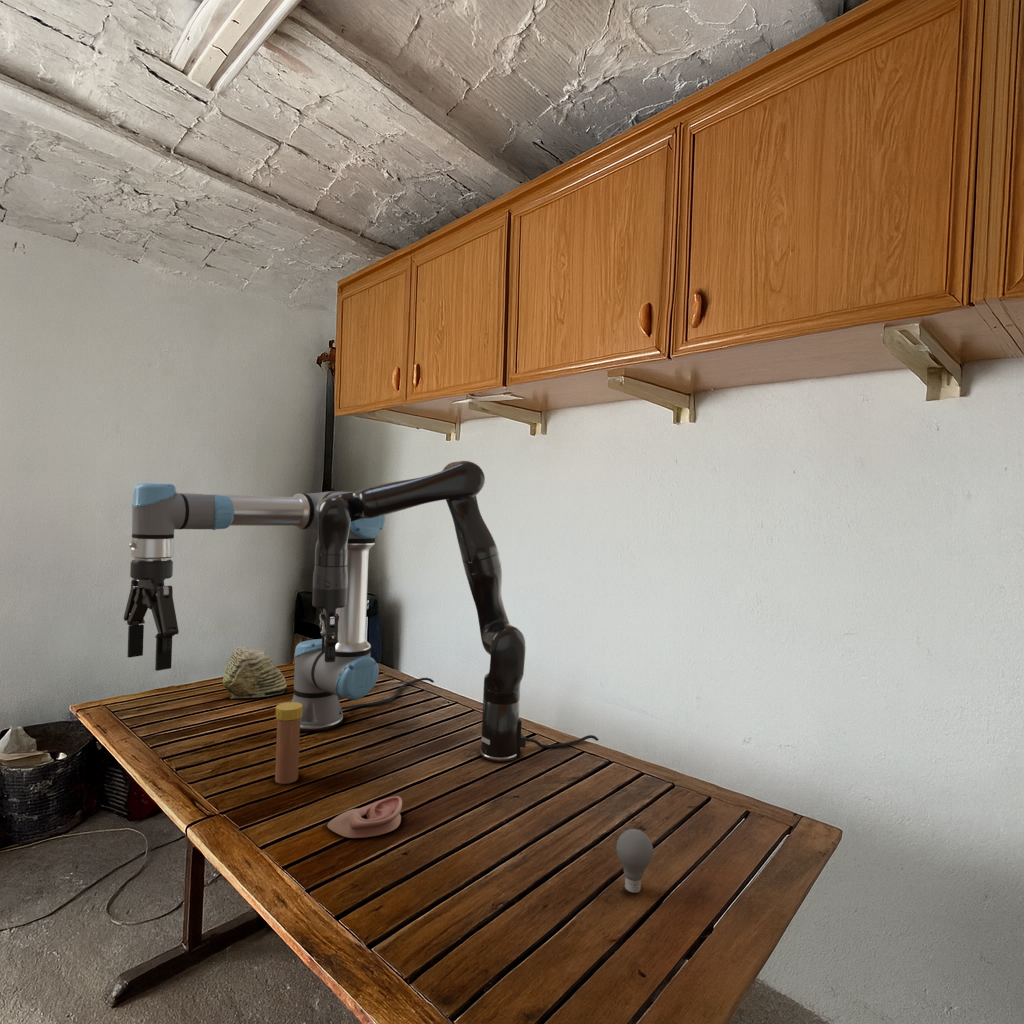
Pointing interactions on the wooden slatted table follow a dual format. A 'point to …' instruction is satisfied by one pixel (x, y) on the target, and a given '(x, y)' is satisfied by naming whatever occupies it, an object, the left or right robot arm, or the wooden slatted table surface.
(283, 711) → the lid
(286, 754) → the jar
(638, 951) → the wooden slatted table surface
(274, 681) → the fossil
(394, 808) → the anatomical model
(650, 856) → the light bulb
